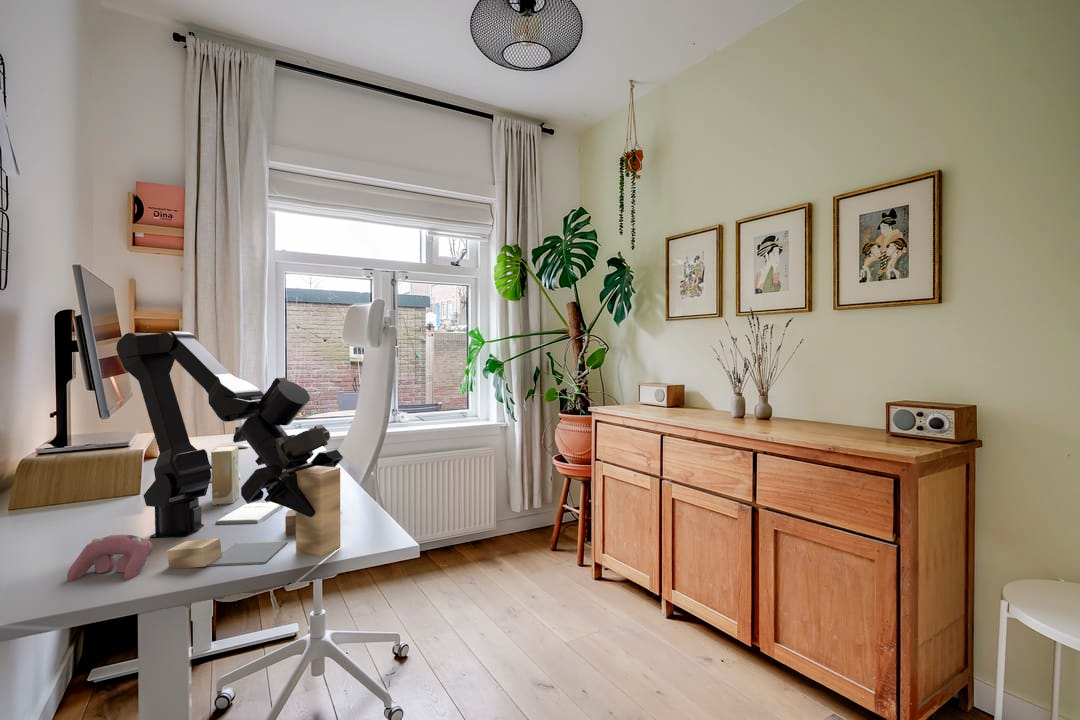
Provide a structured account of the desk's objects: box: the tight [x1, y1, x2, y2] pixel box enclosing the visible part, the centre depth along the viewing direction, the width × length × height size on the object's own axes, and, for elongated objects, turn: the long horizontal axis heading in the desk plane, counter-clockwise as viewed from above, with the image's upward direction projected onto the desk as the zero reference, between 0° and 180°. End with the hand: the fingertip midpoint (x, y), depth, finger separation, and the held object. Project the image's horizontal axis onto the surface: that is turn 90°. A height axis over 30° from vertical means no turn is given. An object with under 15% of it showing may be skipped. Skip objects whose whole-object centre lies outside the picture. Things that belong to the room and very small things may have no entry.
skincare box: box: [210, 445, 240, 506], centre depth 122 cm, size 6×4×12 cm
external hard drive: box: [215, 501, 285, 525], centre depth 111 cm, size 2×8×12 cm
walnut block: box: [284, 509, 296, 537], centre depth 101 cm, size 4×4×4 cm
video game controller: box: [66, 534, 153, 582], centre depth 83 cm, size 10×5×7 cm, turn 92°
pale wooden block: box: [166, 538, 223, 569], centre depth 86 cm, size 6×4×3 cm, turn 84°
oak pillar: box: [295, 466, 341, 557], centre depth 91 cm, size 5×5×14 cm
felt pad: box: [206, 541, 288, 567], centre depth 89 cm, size 9×9×1 cm
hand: (324, 510), depth 91 cm, fingers closed on oak pillar, 5 cm apart
